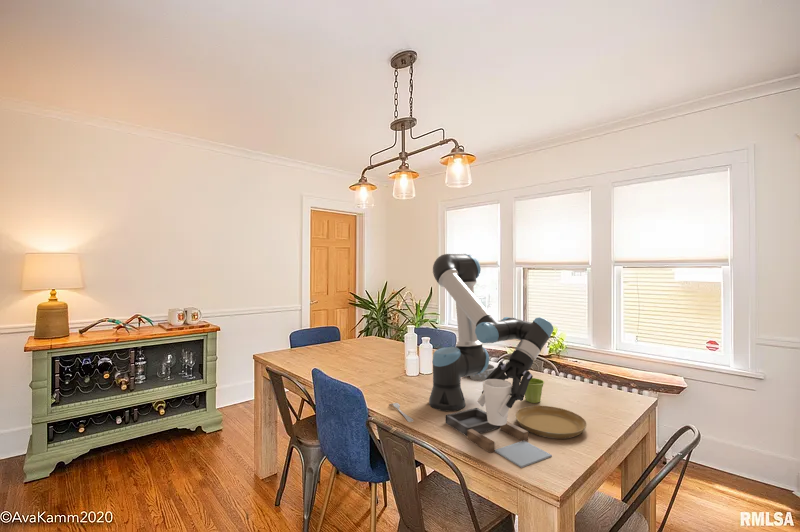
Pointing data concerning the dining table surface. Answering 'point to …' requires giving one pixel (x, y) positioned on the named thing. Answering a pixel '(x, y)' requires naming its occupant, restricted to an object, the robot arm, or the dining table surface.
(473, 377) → the dog bowl
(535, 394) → the plant pot
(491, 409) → the foam cup
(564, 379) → the dining table surface
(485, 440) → the track
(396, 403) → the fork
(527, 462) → the mat
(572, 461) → the dining table surface
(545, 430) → the plant saucer
